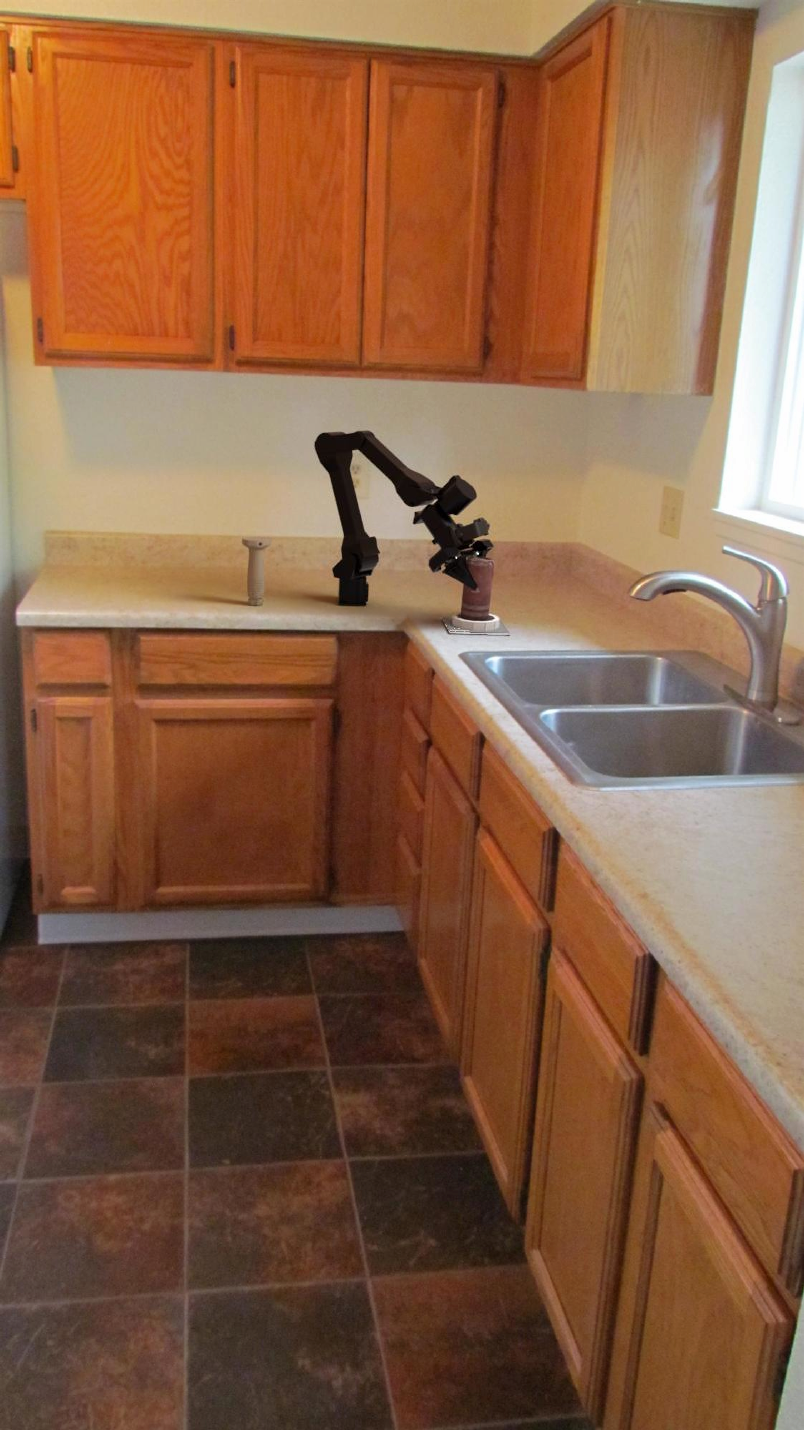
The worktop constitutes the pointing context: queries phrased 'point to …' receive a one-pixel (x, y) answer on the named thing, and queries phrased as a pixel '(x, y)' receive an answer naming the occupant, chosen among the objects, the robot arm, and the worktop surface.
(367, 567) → the robot arm
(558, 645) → the worktop surface
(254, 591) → the handle
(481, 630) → the square base with ring
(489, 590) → the can
